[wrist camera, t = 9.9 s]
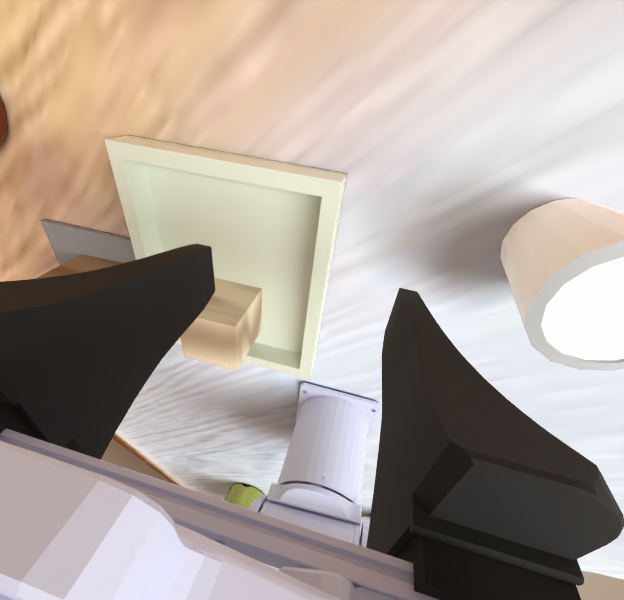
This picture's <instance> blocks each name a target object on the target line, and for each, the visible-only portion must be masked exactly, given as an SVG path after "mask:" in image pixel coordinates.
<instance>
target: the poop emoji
mask: <svg viewBox="0 0 624 600" xmlns="http://www.w3.org/2000/svg"><path fill="white" fill-rule="evenodd" d="M6 133H7V118H6V113H5V109H4V106H3V103H2V100H1V98H0V144H1V143H2V142H3V141H4V139H5V136H6Z"/></svg>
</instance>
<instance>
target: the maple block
mask: <svg viewBox="0 0 624 600" xmlns="http://www.w3.org/2000/svg"><path fill="white" fill-rule="evenodd" d="M214 281H215V292H214V294H213V296H212V297H211V299H210V301H209V302H208V304H207V305H206V307H205V308H204V310H203V311H202V312H201V314H200V315H199V316H198V317H197V318H196V320H195V321H194V322H193V323H192V324H191V325H190V326H189V328H188V329H187V330H186V331H185V332H184V333H183V335H182V336H181V337H180V338H181V343H182V348H183V353H184V356H185V357H188V358H192V359H196V360H199V361H203V362H207V363H210V364H214V365H218V366H221V367H225V368H229V369H232V370H236V371H238V369H239V367H240V366H241V364H242V362H243V361H244V359H245V357H246V355H247V354H248V352H249V350H250V348H251V347H252V345H253V343H254V342H255V340H256V338H257V336H258V335H259V333H260V331H261V317H262V289H261V288H257V287H252V286H248V285H244V284H240V283H235V282H231V281H227V280H222V279H218V278H214Z"/></svg>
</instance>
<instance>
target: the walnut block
mask: <svg viewBox="0 0 624 600" xmlns="http://www.w3.org/2000/svg"><path fill="white" fill-rule="evenodd" d="M119 264H123V263H122V262H117V261H112V260H107V259H103V258H98V257H93V256H88V255H83V254H82V255H80V256H78V257H76V258H75V259H73V260H71V261H69V262H67V263H65V264H63V265H61V266H59V267H57V268H55V269H53V270H51V271H49V272H47V273H45V274H44V275H42V276H40V277H38V278H36V279H40V278H47V277H55V276H62V275H70V274H76V273H82V272H87V271H92V270H98V269H102V268H107V267H111V266H115V265H119Z"/></svg>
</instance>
